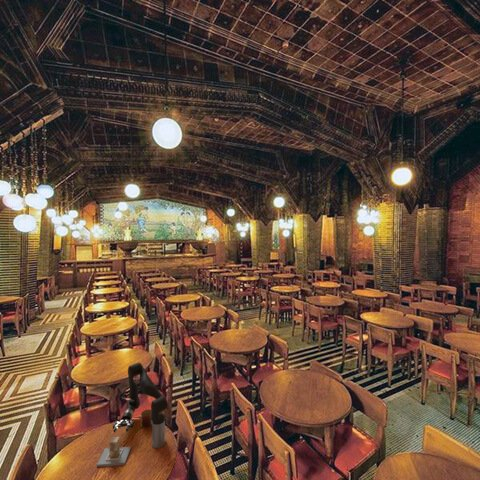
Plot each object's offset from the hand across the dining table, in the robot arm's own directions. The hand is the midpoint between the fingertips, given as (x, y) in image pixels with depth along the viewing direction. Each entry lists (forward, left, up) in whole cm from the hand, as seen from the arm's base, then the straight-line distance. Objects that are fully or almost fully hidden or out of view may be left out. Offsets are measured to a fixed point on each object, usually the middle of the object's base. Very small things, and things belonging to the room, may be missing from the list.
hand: (120, 430), depth 201 cm
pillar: (0, +11, -9) cm, 14 cm away
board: (0, +11, -11) cm, 15 cm away
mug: (-16, -21, -11) cm, 28 cm away
